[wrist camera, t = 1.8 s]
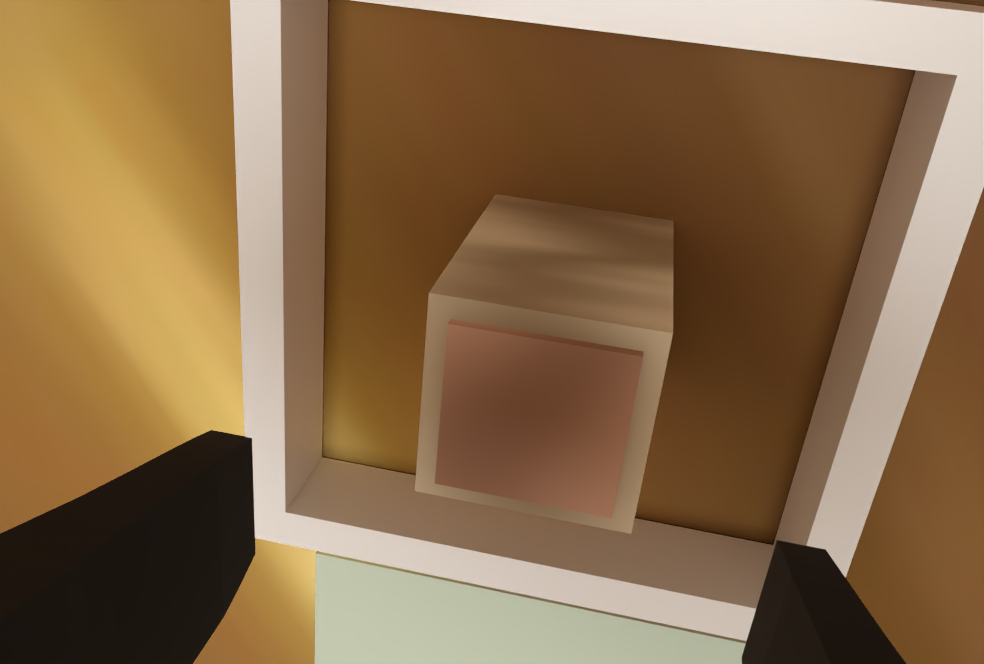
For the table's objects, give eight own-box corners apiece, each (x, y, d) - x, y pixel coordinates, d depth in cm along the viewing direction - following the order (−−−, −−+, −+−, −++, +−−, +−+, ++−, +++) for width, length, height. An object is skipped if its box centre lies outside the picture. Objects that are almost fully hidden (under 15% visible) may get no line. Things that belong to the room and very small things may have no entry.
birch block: (673, 220, 19) (673, 338, 14) (642, 379, 21) (630, 540, 15) (495, 193, 20) (425, 297, 14) (479, 350, 21) (411, 497, 16)
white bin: (992, 7, 16) (1042, 19, 14) (803, 583, 22) (817, 656, 20) (283, -74, 18) (227, -74, 16) (287, 480, 24) (248, 536, 22)
